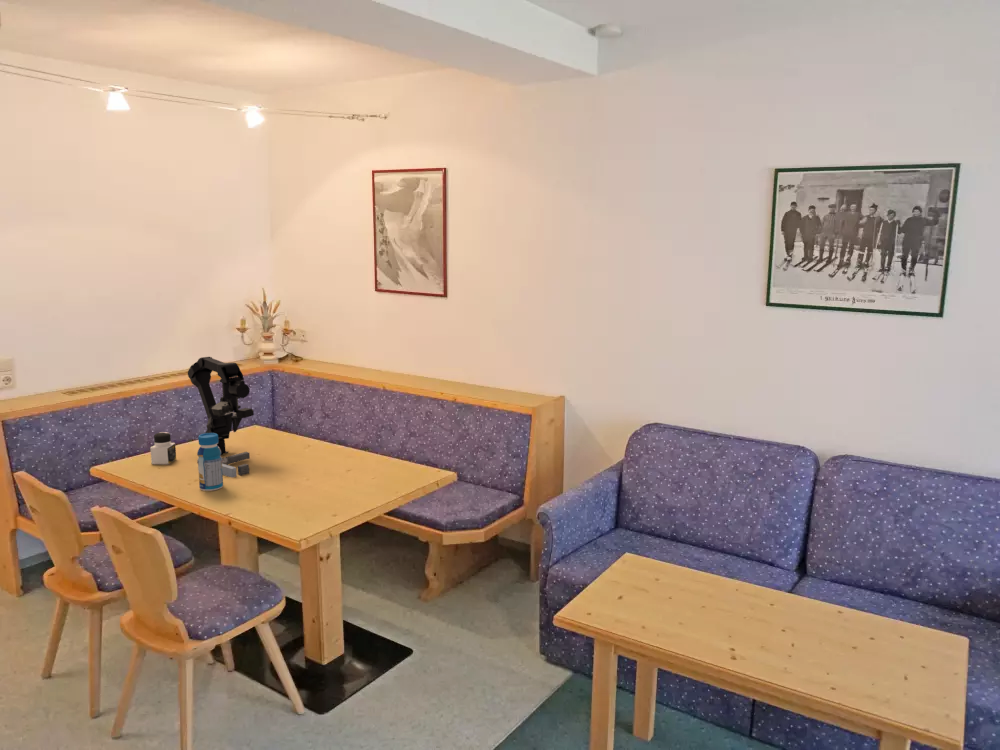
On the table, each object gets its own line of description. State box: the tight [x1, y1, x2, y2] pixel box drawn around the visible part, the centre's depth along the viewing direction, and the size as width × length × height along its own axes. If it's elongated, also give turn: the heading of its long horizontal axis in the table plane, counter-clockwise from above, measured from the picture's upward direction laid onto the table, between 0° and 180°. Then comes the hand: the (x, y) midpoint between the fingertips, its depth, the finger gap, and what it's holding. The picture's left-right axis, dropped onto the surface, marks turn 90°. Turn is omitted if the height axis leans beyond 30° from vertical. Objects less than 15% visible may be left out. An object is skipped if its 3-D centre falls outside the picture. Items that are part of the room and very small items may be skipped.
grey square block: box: [237, 463, 250, 476], centre depth 297 cm, size 2×4×4 cm, turn 144°
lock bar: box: [222, 451, 251, 465], centre depth 309 cm, size 14×4×3 cm, turn 144°
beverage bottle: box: [196, 432, 224, 492], centre depth 279 cm, size 8×8×20 cm
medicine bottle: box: [150, 431, 177, 465], centre depth 311 cm, size 7×7×12 cm
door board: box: [222, 464, 238, 478], centre depth 299 cm, size 20×2×4 cm, turn 54°
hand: (232, 431), depth 313 cm, fingers open, 2 cm apart
